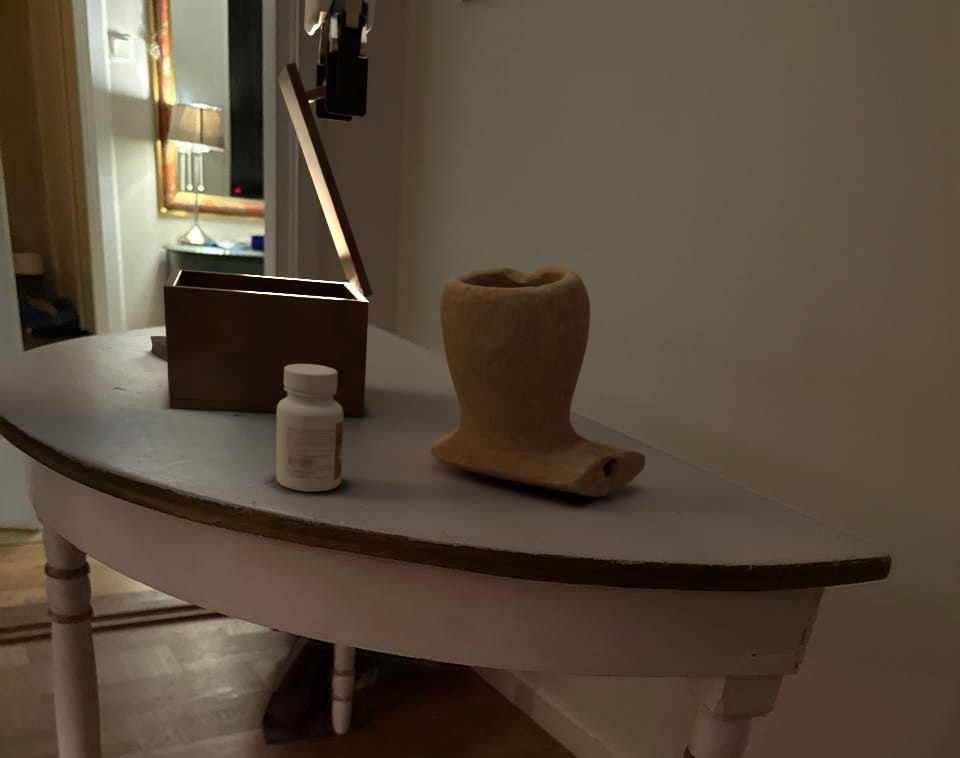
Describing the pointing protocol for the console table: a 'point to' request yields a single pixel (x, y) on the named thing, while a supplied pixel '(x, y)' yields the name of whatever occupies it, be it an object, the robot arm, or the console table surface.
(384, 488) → the console table surface
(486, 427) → the stone cup
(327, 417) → the pill bottle
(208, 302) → the chest
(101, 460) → the console table surface
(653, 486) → the console table surface
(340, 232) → the lid
